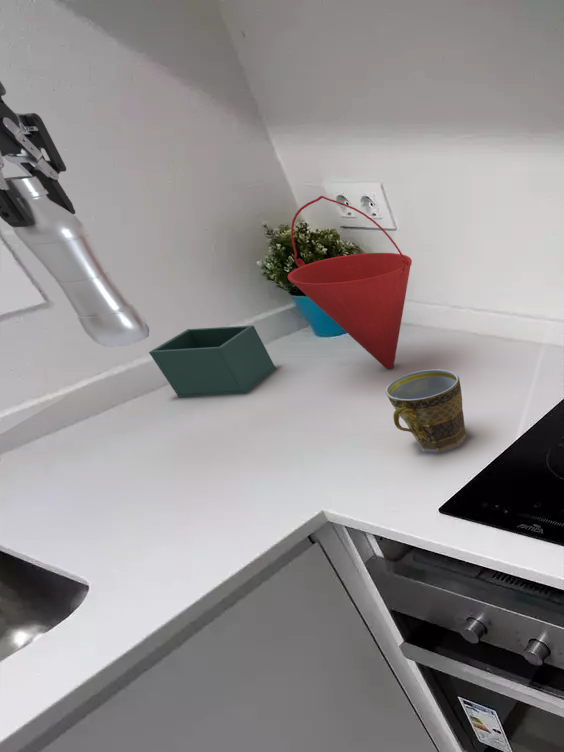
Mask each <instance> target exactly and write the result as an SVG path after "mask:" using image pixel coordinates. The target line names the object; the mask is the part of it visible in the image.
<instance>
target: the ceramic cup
mask: <svg viewBox="0 0 564 752" xmlns="http://www.w3.org/2000/svg"><path fill="white" fill-rule="evenodd" d="M385 395H386V397H387V398H388V400H389V402H390V403H391V405H392V407H393V408H394V412H393V416H392V417H393V423H394V426H395V427H396V429H398V430H400V431H403V432H409V433H410V434H412V435H413V437H414V439H415V441H416V442H417V444H418V445H419V447H420V449H421V451H423V452H424V453H437V454H441V453H444V452H446V451H449V450H453V449H456V448H458V447H459V446H460V445H461V444H462V443H463V442H464V441H465V440H466V438H467V434H466V427H465V416H464V410H463V395H462V387H461V382H460V377H459V375H458V374H457V373H456V372H453V371H451V370H447V369H439V368H438V369H424V370H418V371H414V372H410V373H407V374H405V375H402V376H400V377H398V378H396V379H394V380H392V381H391V382H390V383H389V384H388V385H387V386H386V388H385ZM400 418H401V419H402V420H403V422H404V423H405V424H406V427H408V428H406V427H403V426H401V424H400Z"/></svg>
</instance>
